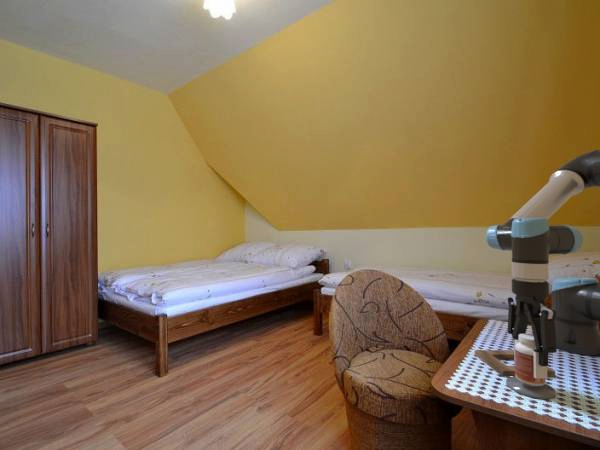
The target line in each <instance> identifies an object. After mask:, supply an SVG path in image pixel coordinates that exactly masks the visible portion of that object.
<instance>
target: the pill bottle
mask: <svg viewBox="0 0 600 450" xmlns="http://www.w3.org/2000/svg"><path fill="white" fill-rule="evenodd" d="M518 339H519V341H520V342H519V343H517V344H516V345H515V359H514V366H515V376H516V378H517V379H518V380H519V381H521V382H523V383H525V384H529V385H533V386H542V385H544V384H545V383H546V379H536V378H534V350H533V349H536V345H535V341H534V336H533V334H531V333H525V334H519V338H518Z"/></svg>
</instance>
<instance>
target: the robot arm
mask: <svg viewBox="0 0 600 450" xmlns="http://www.w3.org/2000/svg"><path fill="white" fill-rule="evenodd" d="M548 179H549V180H548V183H546V184H545V185H544V186H543V187H542V188H541V189H540V190H539V191H537V193H535V194H534V195H533V196H532V197H531V198H530V199H529V200H528V201H527V202H526V203H525V204H523V206H521V208H520V209H519V210H517V211H516V212H515V213H514V214H513V215H512V216H510V218H509V219H508V220H507V221H505V222H504V224H496V225H492V226H489V228H488V229H487V230H486V233H485V241H486V244H487V245H488V246H489V247H490V248H492V249H494V250H495V249H496V250H500V251H511V257H512V258H511V274H510V275H511V277H513V278H512V279H511V293H512V294H514V295H515V297H509V296H508V297H507V304H508V314H507V316H508V317H507V333H508V334H509V335H511V337H512V339H513V350H515V345H516V344H517V343H519V342H520V341H519V339H518V338H519V334H527V333H526V332H527V328H528V325H529V323H530V326H531V331H532V335H533V336H534V341H535V345H536V349H533V350H534V378H536V379H545V380H547V379H548V377H547V367H549V354H550V353H551V354H553V353H554V354H555V353H557V350H558V349H559V350H562V351H564V352H565V351H566V352H569V353H573V354H578V355H586V356H600V328H599V322H600V281H599V280H598V278H596V277H578V276H577V277H574V276H573V277H559V278H557V277H556V278H555V279H554V280H553V281H552V285H551V308H552V309H549V308H548V307H547V305H546V302H545V299H546V298H548V297H549V296H550V295H549V294H550V283H549V282H548V281H547V280H548V279H549V260H550V259H549V258H550V257H549V256H550V255H567V254H573V253H575V252H577V251H579V250H580V249H581V248H582V246H583V244H584V236H583V233H582V232H581V231H580V230H579V229H578V228H576V227H574V226H571V225H565V224H558V225H556V224H555V225H550V224H549V219H550V218H551V217H552V216H553V215H554V214H555V213H556V212H557V211H558V210H559V209H560V208H561V207H563V206H564V205H565V203H566V202H567V201H568V200H569V199H570V198H571V197H572V196H577V195H578V194H580V193H582V192H583V191H584V190H586V189H591V188H596V187H597V188H598V187H600V149H595V150H591V151H587V152H585V153H582V154H580V155H577V156H576V157H574V158H572V159H570V160H569V161H567V162H566V163H564V164H563V165H561V166H560V167H559V168H558V169H557V170H555V171H554V172H553V173H552V174H551V175H550V177H549V178H548Z"/></svg>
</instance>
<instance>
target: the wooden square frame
mask: <svg viewBox="0 0 600 450" xmlns="http://www.w3.org/2000/svg"><path fill="white" fill-rule="evenodd" d="M474 355H475V357H477V359H480V360H481V361H482V362H483V363H484V364H486V365H487V366H488V367H490V368H491V369H492V370H493V371H495V372H496V373H497V374H499V375H500V376H501V377H503V378H505V376H506V377H507V376H515V365H507V364H506V363H504V362H502V361H501V360H515V350H514V349H512V350H511V349H506V350H505V349H500V350H498V349H484V350H483V349H482V350H481V349H475V350H474ZM555 377H556V370H554V369H552V368H551V367H549V366H547V378H555ZM507 378H508V377H507Z"/></svg>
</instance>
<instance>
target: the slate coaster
mask: <svg viewBox="0 0 600 450" xmlns="http://www.w3.org/2000/svg"><path fill="white" fill-rule="evenodd" d="M505 383H506V386H507V387H508V388H509V389H510V390H512V391H513V390H514V391H513V392H515V393H517V394H519V395H522V396H525V397H527V398H531V399H537V400H553V399H554V398H556V396H557V393H556V390H555V389H554V388H553V387H552V386H551V385H549V384H548V383H546V382H545V384H544V385H542V386H533V385H529V384H525V383H523V382H521V381H519V380H518V379H517V378H516V376H513V377H507V378H506V379H505Z"/></svg>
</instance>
